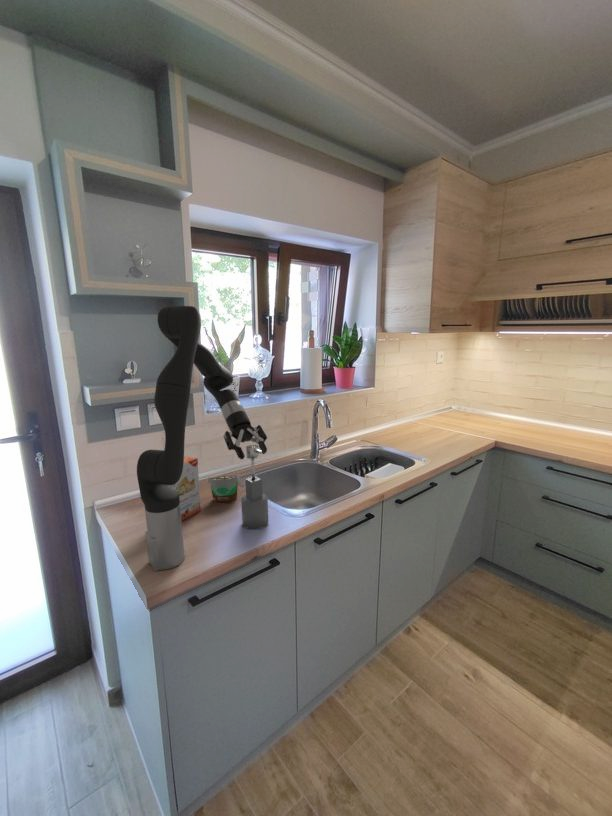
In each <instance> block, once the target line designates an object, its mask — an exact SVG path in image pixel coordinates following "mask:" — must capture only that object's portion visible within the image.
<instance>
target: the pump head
mask: <svg viewBox="0 0 612 816" xmlns="http://www.w3.org/2000/svg"><path fill="white" fill-rule="evenodd" d="M245 449H246V450H245V451H246V459H250V462H251V466H250V467H251V477H252V480H255V476H256V471H255V468H256V467H255V459H257V458H259V455H263V454H262V450H260V448H259V445H258V444H257V445H256V444H251V445H250V444H249V445H247V446H245Z"/></svg>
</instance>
